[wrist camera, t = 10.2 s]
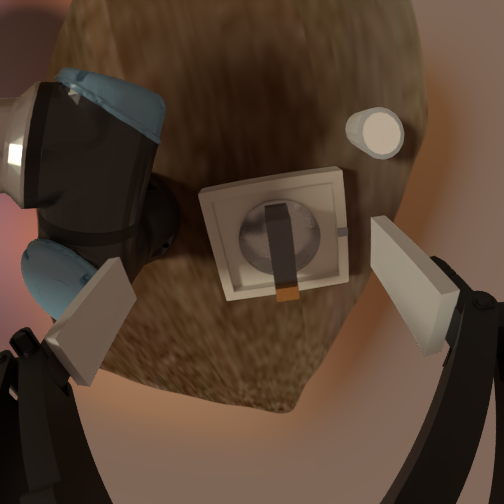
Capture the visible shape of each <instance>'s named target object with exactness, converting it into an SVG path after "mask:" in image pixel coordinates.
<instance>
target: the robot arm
mask: <svg viewBox="0 0 504 504" xmlns="http://www.w3.org/2000/svg"><path fill="white" fill-rule="evenodd" d="M55 80H57V82H37V83H35V85H33V86H32V87H31V88H30V89H28V90H27V91H26V92H25V93H24V94H23V95H21V96H19V97H18V98H0V193H6V194H7V195H9V196H10V197H11V198H12V199H13V200H14V201H15V203H16V204H17V205H18V206H19V207H20V208H21V209H30V208H39V221H38V229H39V233H38V238H37V239H35V240H34V241H31V242H30V243H29V245H28V247H27V249H26V250H25V251H24V253H23V255H22V259H21V270H22V275H23V278H24V281H25V284H26V286H27V288H28V290H29V291H30V293H31V294H32V296H33V298H34V299H35V300H36V302H37V303H38V304H39V305H40V306H41V307H42V308H43V309H44V310H45V311H46V312H47V313H48V314H49V315H50V316H52V317H53V318H54V319H56V320H57V321H56V322H55V324H54V325H53V326H52V328H51V329H50V330H49V332H48V333H47V335H46V336H45V337H44V339H43V341H42V342H41V344H40V343H39V341H38V340H37V338H36V337H35V335H34V334H33V332H32V330H31V329H30V328H29V327H25V328H22V329H20V330H19V331H18V332H16V333H15V334H14V335H13V336H12V338H11V339H10V342H9V343H10V345H11V346H12V348H13V349H14V351H15V352H16V353H17V355H18V356H19V357H17V358H15V357H14V356H13V354H12V353H11V351H9V350H4V351H3V352H0V504H113V503H112V501H111V499H110V497H109V495H108V492H107V490H106V488H105V486H104V484H103V481H102V479H101V477H100V474H99V472H98V470H97V467H96V465H95V462H94V459H93V457H92V454H91V451H90V448H89V446H88V443H87V440H86V437H85V434H84V430H83V427H82V424H81V421H80V417H79V414H78V410H77V406H76V402H75V398H74V394H73V390H72V387H71V385H70V383H69V382H68V379H69V377H70V376H71V377H72V378H73V380H74V381H75V382H76V383H77V385H82V386H90V385H91V383H92V381H93V379H94V377H95V375H96V373H97V371H98V369H99V367H100V365H101V363H102V361H103V359H104V357H105V355H106V353H107V351H108V350H109V348H110V346H111V344H112V342H113V340H114V338H115V336H116V335H117V333H118V331H119V329H120V327H121V326H122V324H123V322H124V320H125V318H126V317H127V315H128V313H129V311H130V310H131V308H132V306H133V304H134V303H135V301H136V299H137V298H136V296H135V293H134V291H133V289H132V286H131V284H132V283H133V281H134V280H135V278H136V277H137V275H138V274H139V272H140V271H141V269H142V268H143V266H144V265H146V264H148V263H150V262H153V261H155V260H157V259H158V258H160V257H161V256H163V255H164V254H165V253H166V252H167V251H168V249H169V248H170V247H171V245H172V244H173V242H174V240H175V238H176V236H177V234H178V230H179V224H180V215H179V209H178V206H177V203H176V200H175V198H174V196H173V194H172V193H171V191H170V190H169V189H168V187H167V186H166V185H165V184H164V183H163V182H161V181H160V180H159V179H158V178H156V177H154V176H152V175H151V171H152V167H153V163H154V159H155V156H156V152H157V148H158V145H160V143H161V140H160V135H161V130H162V126H163V122H164V118H165V114H166V105H165V102H164V100H163V98H162V97H161V96H160V95H158V94H157V93H155V92H153V91H151V90H148V89H146V88H144V87H141V86H138V85H136V84H133V83H130V82H127V81H124V80H121V79H117V78H114V77H110V76H107V75H103V74H99V73H95V72H89V71H84V70H79V69H76V68H69V67H66V68H63V69H61V70H60V72H59V73H58V74H57V75H56V78H55ZM371 268H372V269H373V271H374V272H375V274H376V275H377V277H378V278H379V280H380V282H381V283H382V285H383V286H384V288H385V290H386V291H387V293H388V294H389V296H390V297H391V299H392V301H393V302H394V304H395V306H396V307H397V309H398V311H399V312H400V314H401V316H402V318H403V319H404V321H405V323H406V324H407V326H408V328H409V330H410V332H411V333H412V335H413V337H414V339H415V340H416V342H417V344H418V346H419V348H420V349H421V352H422V353H423V355H424V357H425V356H429V355H432V354H435V353H438V352H441V350H442V348H443V345H444V342H445V339H446V341H447V343H448V344H449V346H450V349H449V351H448V353H447V356H446V359H445V361H444V364H443V367H444V368H443V371H442V374H441V377H440V380H439V384H438V386H437V389H436V392H435V395H434V397H433V400H432V403H431V405H430V408H429V411H428V413H427V416H426V418H425V421H424V423H423V425H422V427H421V430H420V432H419V434H418V436H417V438H416V441H415V443H414V445H413V447H412V449H411V451H410V453H409V455H408V457H407V459H406V461H405V463H404V464H403V466H402V468H401V470H400V472H399V473H398V475H397V477H396V479H395V480H394V482H393V484H392V485H391V487H390V489H389V490H388V492H387V494H386V495H385V497H384V498H383V500H382V501H381V503H380V504H456V502H457V500H458V498H459V496H460V493H461V491H462V489H463V487H464V484H465V481H466V479H467V477H468V474H469V471H470V469H471V466H472V463H473V460H474V457H475V454H476V451H477V448H478V445H479V442H480V438H481V435H482V431H483V427H484V423H485V419H486V415H487V410H488V406H489V401H490V395H491V389H492V384H493V377H494V385H495V400H496V447H495V461H494V472H493V479H492V486H491V493H490V498H489V504H504V302H497V301H496V299H495V298H494V297H493V296H491V295H490V294H489V293H486V292H483V291H473V290H472V289H471V288H470V287H469V286H468V285H467V284H466V283H465V281H464V280H463V279H461V277H460V276H459V275H458V274H456V272H455V271H454V270H453V269H451V267H450V266H449V265H448V264H447V263H446V262H445V261H443V260H441V259H440V258H438V257H436V256H432V257H428V256H427V255H426V254H425V253H424V252H423V251H422V250H421V249H420V248H419V247H418V246H417V245H416V244H415V243H414V242H413V241H412V240H411V239H410V238H409V237H408V236H407V235H406V234H405V233H404V232H403V231H401V230H400V229H399V228H398V227H397V226H396V225H395V224H394V223H393V222H392V221H390V220H389V219H388V218H387V217H386V216H385V215H384V216H376V217H371ZM10 388H11V389H12V390H13V392H14V393H15V394H16V395H17V396H18V399H17V400H15V399H14V398H13V397H12V396H11V395H10V393H9V389H10Z"/></svg>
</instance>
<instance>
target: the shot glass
mask: <svg viewBox="0 0 504 504" xmlns="http://www.w3.org/2000/svg"><path fill="white" fill-rule="evenodd" d="M345 131H346V135H347V138H348V139H349V141H350V142H351V143H352V144H353V145H355V146H356V147H358V148H359V149H361V150H363V151H364V152H366V153H367V154H369V155H370V156H372V157H373V158H377V159H387V158H391V157H393V156H394V155H395V154H396V153H398V152H399V150H400V148H401V147H402V145H403V141H404V130H403V125H402V123H401V121H400V120H399V118H398V117H397V115H396V114H394V113H393V112H392V111H390V110H389V109H386V108H382V107H376V108H371V109H368V110H364V111H361V112H358V113H355V114H353V115H352V116H351V117H349V119H348V121H347V123H346V130H345Z"/></svg>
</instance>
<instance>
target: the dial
mask: <svg viewBox="0 0 504 504" xmlns="http://www.w3.org/2000/svg"><path fill="white" fill-rule="evenodd" d="M320 240H321V234H320V228H319V225H318V223H317V221H316V219H315V217H314V215H313V214H312V213H311V212H310V211H309V210H308V209H307V208H306V207H305V206H303V205H302V204H300V203H298V202H296V201H293V200H288V199H272V200H268V201H265V202H263V203H261V204H259V205H257V206H256V207H254V208H253V209H252V210H251V211H250V212H249V213H248V214H247V215H246V217H245V218H244V220H243V222H242V224H241V227H240V232H239V246H240V250H241V252H242V254H243V256H244V258H245V259H246V261H247V262H248V263H249V264H250V265H251V266H252V267H254V268H255V269H257V270H258V271H260V272H263V273H266V274H269V275H274V282H275V290H276V297H277V302H280V301H287V300H295V299H300V298H299V287H298V280H297V271H299V270H301V269H303V268H304V267H305V266H307V265H308V264H309V263H310V262H311V261H312V260H313V258H314V257H315V255H316V254H317V251H318V249H319V246H320Z"/></svg>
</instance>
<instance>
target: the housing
mask: <svg viewBox="0 0 504 504" xmlns="http://www.w3.org/2000/svg"><path fill="white" fill-rule="evenodd" d="M198 197H199V201H200V205H201V209H202V213H203V217H204V220H205V224H206V228H207V232H208V235H209V239H210V243H211V246H212V250H213V254H214V257H215V261H216V264H217V268H218V272H219V275H220V279H221V282H222V286H223V289H224V292H225V296H226V299H227V301H230V300H238V299H245V298H252V297H259V296H266V295H273V294H276V290H275V282H274V275H269V274H266V273H263V272H260V271H258V270H257V269H255V268H254V267H252V266H251V265H250V264H249V263H248V262H247V261H246V259H245V258H244V256H243V254H242V252H241V250H240V246H239V232H240V227H241V224H242V222H243V220H244V218H245V217H246V215H247V214H248V213H249V212H250V211H251V210H252V209H253V208H254V207H256V206H257V205H259V204H261V203H263V202H265V201H268V200H272V199H288V200H293V201H296V202H298V203H300V204H302V205H303V206H305V207H306V208H307V209H308V210H309V211H310V212H311V213H312V214H313V215H314V217H315V219H316V221H317V223H318V225H319V228H320V234H321V240H320V246H319V249H318V251H317V254H316V255H315V257H314V258H313V260H312V261H311V262H310V263H309V264H308V265H307V266H305V267H304V268H303V269H301V270H299V271H297V280H298V287H299V290H305V289H311V288H317V287H323V286H328V285H334V284H340V283H345V282H349V264H348V237H347V236H348V228H347V219H346V205H345V193H344V182H343V172H342V170H341V169H340V168H338V167H337V166H331V167H323V168H316V169H309V170H302V171H295V172H288V173H282V174H276V175H269V176H264V177H258V178H252V179H247V180H241V181H236V182H231V183H226V184H220V185H216V186H211V187H206V188H202V189H201V191H200V192H199V193H198Z"/></svg>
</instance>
